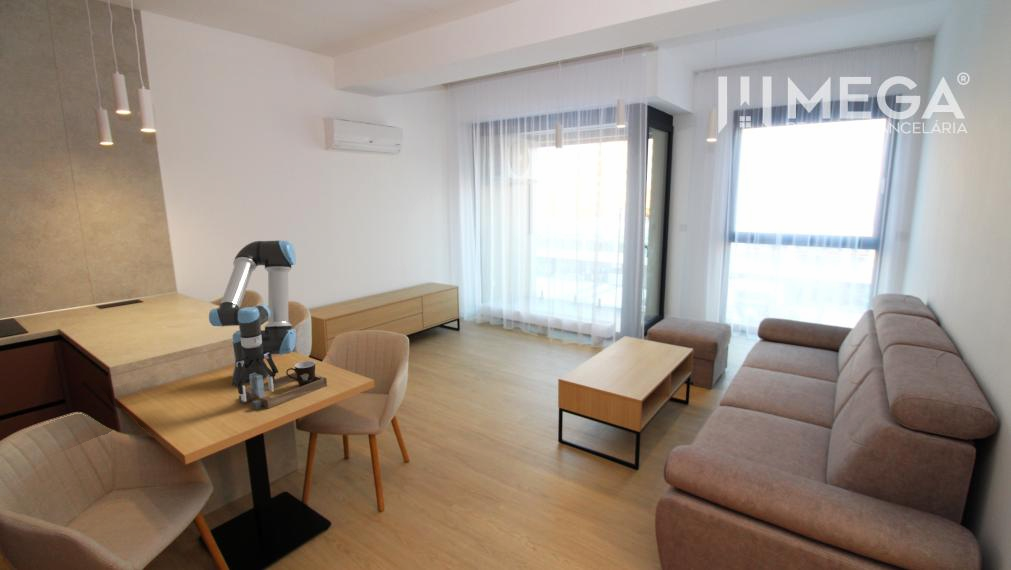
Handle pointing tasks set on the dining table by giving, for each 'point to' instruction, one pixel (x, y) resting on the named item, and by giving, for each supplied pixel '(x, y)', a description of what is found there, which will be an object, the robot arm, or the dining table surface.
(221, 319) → the robot arm
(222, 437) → the dining table surface
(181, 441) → the dining table surface
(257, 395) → the brown frame
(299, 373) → the coffee mug
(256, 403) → the block
